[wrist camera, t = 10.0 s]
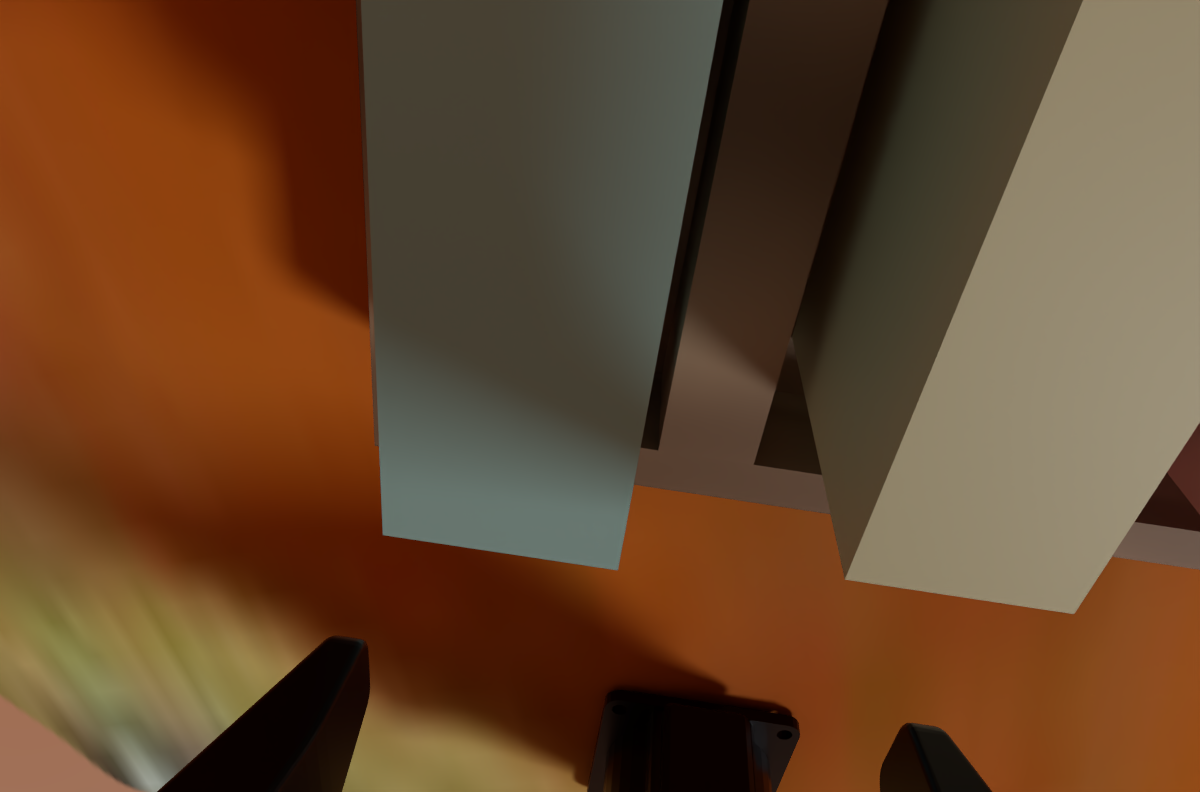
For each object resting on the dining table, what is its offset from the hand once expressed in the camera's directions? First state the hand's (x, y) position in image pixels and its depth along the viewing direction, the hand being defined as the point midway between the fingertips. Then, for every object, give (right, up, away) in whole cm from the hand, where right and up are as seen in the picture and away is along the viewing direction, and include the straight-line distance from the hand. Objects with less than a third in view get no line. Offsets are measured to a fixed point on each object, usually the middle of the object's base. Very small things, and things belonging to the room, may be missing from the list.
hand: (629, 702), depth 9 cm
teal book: (0, +10, +6) cm, 12 cm away
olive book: (+6, +9, +6) cm, 13 cm away
